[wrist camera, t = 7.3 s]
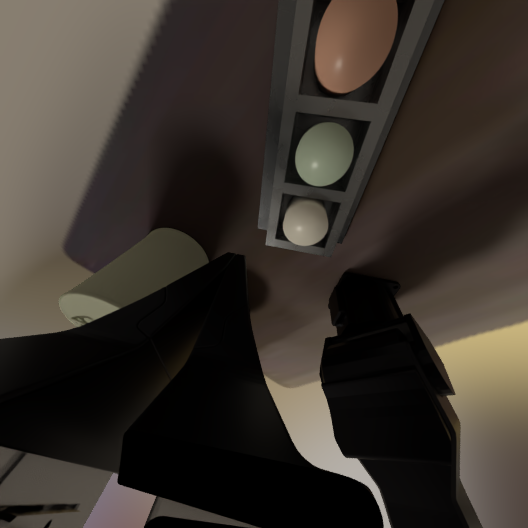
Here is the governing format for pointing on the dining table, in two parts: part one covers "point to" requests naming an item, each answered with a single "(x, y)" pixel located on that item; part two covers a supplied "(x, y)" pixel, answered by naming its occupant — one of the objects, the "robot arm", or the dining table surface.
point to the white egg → (305, 220)
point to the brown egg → (353, 43)
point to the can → (134, 275)
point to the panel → (331, 115)
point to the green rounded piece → (324, 153)
